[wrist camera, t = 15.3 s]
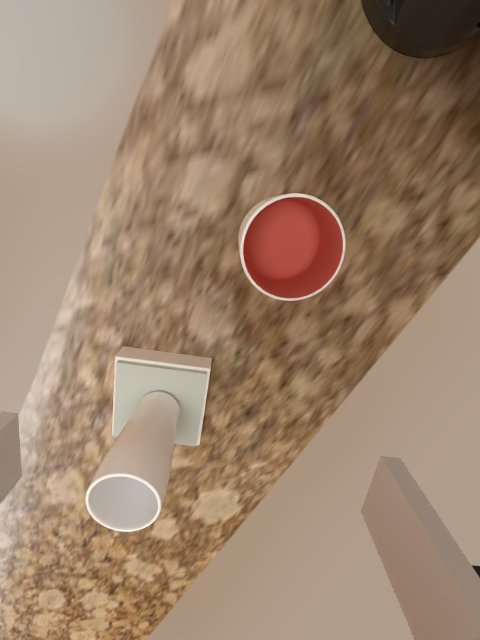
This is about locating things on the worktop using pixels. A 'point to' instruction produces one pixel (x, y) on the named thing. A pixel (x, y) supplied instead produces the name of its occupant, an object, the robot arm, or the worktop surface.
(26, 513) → the worktop surface
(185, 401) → the coaster
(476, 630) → the robot arm
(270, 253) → the cup
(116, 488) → the drinking glass
